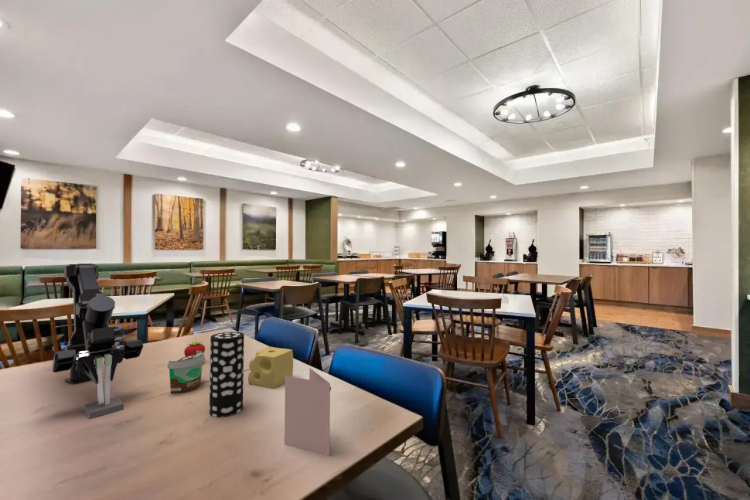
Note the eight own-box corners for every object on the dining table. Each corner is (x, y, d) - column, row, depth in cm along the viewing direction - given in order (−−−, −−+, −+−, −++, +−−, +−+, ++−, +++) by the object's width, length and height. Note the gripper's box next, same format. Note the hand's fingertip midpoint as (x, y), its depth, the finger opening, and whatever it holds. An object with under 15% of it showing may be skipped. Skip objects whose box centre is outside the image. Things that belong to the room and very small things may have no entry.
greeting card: (333, 454, 69) (333, 382, 69) (299, 466, 65) (299, 390, 65) (312, 430, 78) (313, 367, 78) (281, 439, 74) (282, 372, 74)
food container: (184, 397, 96) (185, 363, 96) (166, 395, 97) (167, 361, 97) (213, 381, 108) (213, 351, 108) (197, 380, 109) (197, 350, 109)
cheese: (247, 384, 106) (248, 353, 106) (269, 373, 116) (270, 345, 116) (273, 389, 102) (274, 357, 102) (294, 378, 112) (294, 348, 112)
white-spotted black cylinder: (249, 405, 91) (250, 333, 91) (227, 419, 83) (228, 340, 83) (225, 400, 93) (227, 330, 94) (201, 414, 86) (203, 337, 86)
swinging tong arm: (97, 402, 88) (94, 356, 87) (102, 400, 88) (99, 355, 88) (99, 405, 86) (96, 358, 85) (104, 404, 87) (101, 357, 86)
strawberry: (180, 366, 123) (180, 339, 123) (198, 360, 129) (199, 335, 130) (189, 368, 120) (190, 341, 120) (208, 362, 127) (209, 337, 127)
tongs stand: (84, 410, 87) (85, 355, 87) (116, 401, 92) (118, 350, 93) (89, 419, 83) (90, 361, 83) (123, 409, 88) (124, 355, 88)
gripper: (55, 320, 83) (59, 374, 76) (142, 312, 98) (152, 356, 90) (50, 346, 88) (54, 399, 81) (134, 334, 102) (143, 378, 95)
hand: (104, 381), depth 86 cm, fingers open, 3 cm apart
